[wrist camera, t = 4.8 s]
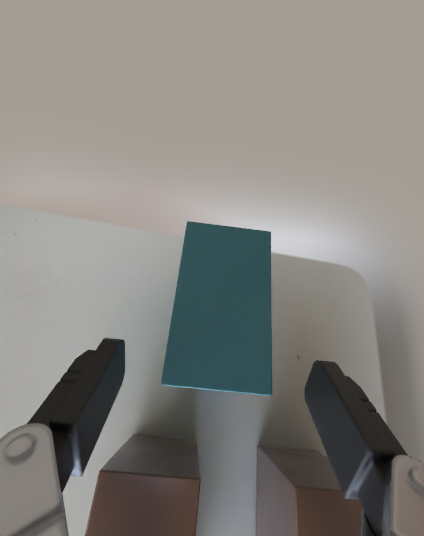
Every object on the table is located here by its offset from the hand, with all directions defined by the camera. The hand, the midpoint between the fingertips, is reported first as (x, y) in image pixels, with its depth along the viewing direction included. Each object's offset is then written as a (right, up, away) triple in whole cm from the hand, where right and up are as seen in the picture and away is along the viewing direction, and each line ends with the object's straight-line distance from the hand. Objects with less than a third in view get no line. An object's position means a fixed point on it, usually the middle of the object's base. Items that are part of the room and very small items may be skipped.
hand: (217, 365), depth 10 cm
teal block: (-1, -1, +10) cm, 11 cm away
